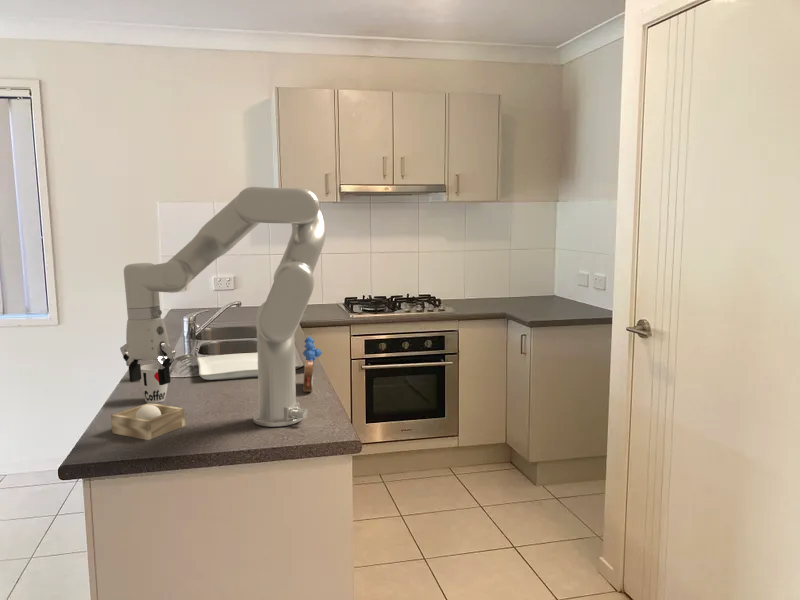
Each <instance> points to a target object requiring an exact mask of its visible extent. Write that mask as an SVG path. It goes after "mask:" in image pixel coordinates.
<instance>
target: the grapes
mask: <svg viewBox="0 0 800 600" xmlns="http://www.w3.org/2000/svg"><path fill="white" fill-rule="evenodd" d="M304 343H305V344H304V346H303V347H304V349H305V350H304V351H303V352H302V354H303V356H304V357H305V362H304V364H305V363H306V360H308V361H314V367H315V363H316V362H315V360H316V358H319V357H321V355H322V354H323V352H322V351H321V349H319V348H316V346H315V345H314V343H315V340H314V338H312V336H307V337H306V338H305V339H304Z"/></svg>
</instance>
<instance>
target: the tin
mask: <svg viewBox="0 0 800 600" xmlns="http://www.w3.org/2000/svg"><path fill="white" fill-rule="evenodd" d="M305 361H306V363H305V362H304V371H303V388H302V389H303V393H312V392H313V388H314V368H315V366H314V365H315V363H314V362H315V360H314V361H308V360H306V359H305Z"/></svg>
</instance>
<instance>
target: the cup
mask: <svg viewBox="0 0 800 600" xmlns="http://www.w3.org/2000/svg"><path fill="white" fill-rule="evenodd" d="M140 366H141V377H142V378H141V380H139V383H140V389H141V392H142V395H143V397H144V400H145V402H146V404H147V403H153V404H157V403H161V402H164V401H165V400H166V397H167V391H168V385H169V383H167V384H164V385H159V379H158V369H160V368H159V366H158V365H157V363H152V364H151V363H150V364H143V365H140Z"/></svg>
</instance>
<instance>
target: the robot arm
mask: <svg viewBox="0 0 800 600" xmlns="http://www.w3.org/2000/svg"><path fill="white" fill-rule="evenodd" d="M259 224H291V235H290V238H289V241H288V243H287V246H286V248H285V251H284V253H283V255H282V257H281V260H280V262H279V265H278V266H277V268H276V270H275V272H274V275H273V283H272V285H271V288H270V290H269V293H268V295H267V297H266V300H265V301H264V302H262V303H261V305H260V306H259V307H258V309H257V311H256V317H255V326H256V327H255V328H256V345H257V349H256V350H257V351H256V352H257V353H258V377H257V384H258V388H257V389H258V391H257V392H258V412H257V413H254V415H253V417H252V418H253V419H252V420H253V423H254V424H256V425H258V426H262V427H267V428H268V427H269V428H271V427H272V428H275V427H278V428H279V427H285V426H292V425H295V424H297V423H299V422H300V421H302V420H304V419H306V418H307V417H308V412H309V410H308V409H307V408H301V407H300V402H299V401H297V392H296V391H297V389H296V387H297V385H296V345H295V344H296V342H295V341H296V340H295V339H296V338H295V333H296V331H297V329H298V327H299V325H300V322H301V320H302V318H303V315H304V313H305V311H306V309H307V306H308V304H309V302H310V298H311V297H312V294H313V290H314V287H315V278H314V274H313V273H314V270H315V268H316V266H317V263H318V260H319V257H320V255H321V253H322V250H323V247H324V244H325V239H326V223H325V218H324V216H323V213H322V211H321V209H320V202H319V198H318V197H317V195H316V194H315V193H314V192H313V191H311V190H309V189H308V188H307V189H306V188H301V187H300V188H298V187H296V188H295V187H263V186H261V187H260V186H249V187H246V188H244V189H242V190H241V191H240V192H239V193H238V194H237V195H236V196H235V197H234V198H233V199H232V200H231V201H229V203H227V205H225V206H224V207H223V208H222V209H221V210H220V211H219V212H217V213H216V214H215V215H214V216H213V217H212V218H210V220H208V221H207V222H205V224H204V225H203V226H202V227H201V228H200V229H199V230H198V232H197V234H195V236H194V237H193V238H192V239H191V240H190V241H189V242H188V243H187V244H186V245H185V246H184V247H182V249H180V250H179V251H178V252H177V253H176V254H175V255H174V256H172V257H171V258H170V259H168V261H166V262H163V263H157V264H156V263H155V264H154V263H151V262H139V263H130V264H126V265H125V266H124V268H123V280H124V291H125V302H126V311H127V313H126V314H127V320H126V328H125V329H126V332H125V333H126V337H125V338H126V339H125V340H126V344H124V345H122V346H120V348H119V350H120V352H121V354H122V358H123V360H124V361H125V363H126V366H127V367H128V376H129V382H130V383H134V382H138V381H140V380H141V378H142V377H141V366H142V365H141V363H140V361H147V362H155V364H157V365H158V366H159V368H160V369H158V379H159V385H164V384H167V383H168V384H169V383H170V384H171V379H170V378H171V371H170V370H171V369H170V367H172V364H173V362H174V361H175V356H176V353H177V351H176V350H175V349H174V348H172V347H171V346H170V347H169V343H170V341H169V335H168V331H167V327H166V323H165V320H164V318H162V314H163V313H162V312H163V311H162V310H161V303H160V293H172V294H174V293H178V292H181V291H183V290H185V288H186V287H188V285H189V284H190V282H192V281H193V280H194V279H196V277H197V276H199V274H200V273H202V271H204V270H205V269H207V267H209V266H210V265H211V264H212V263H213V262H214V261H216V260H217V259H218V258H220V257H222V256H223V255H225V254H227V253H228V252H229V251H231V250H232V248H234V247H235V246H236V245H237V244H238V243H239V242H240V241H241V240H243V238H244V237H245V236H247V235H248V234H249V233H251V231H253V230H254V229H255V228H256V227H257V226H258V225H259ZM161 360H163V363H162V361H161Z"/></svg>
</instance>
